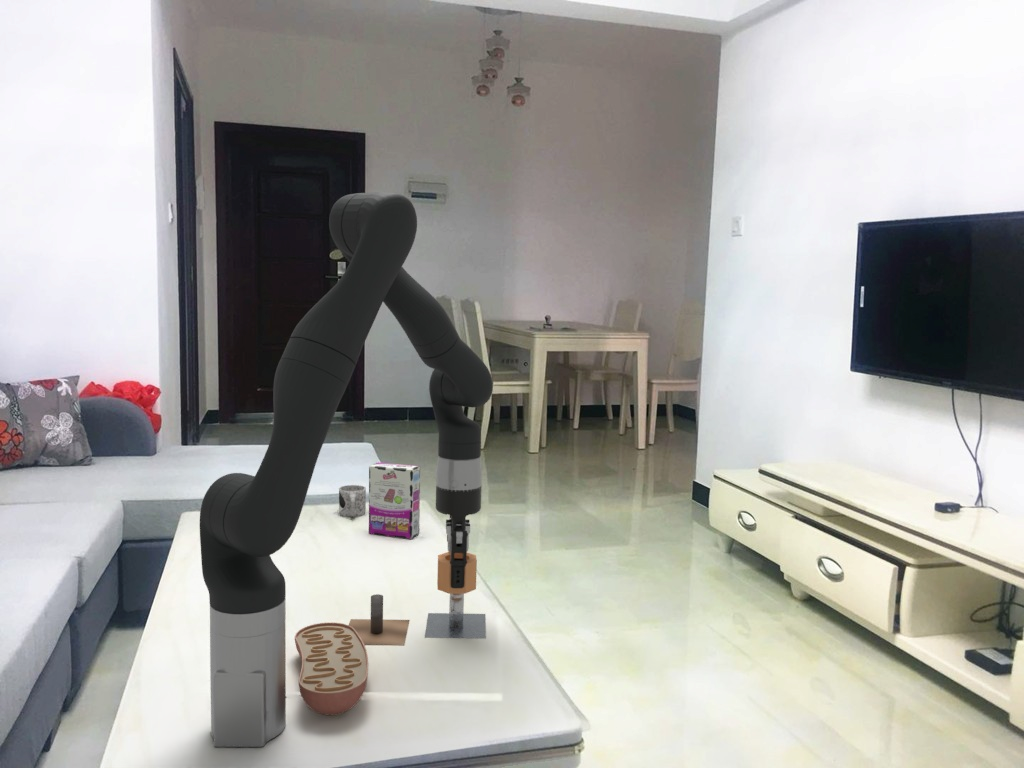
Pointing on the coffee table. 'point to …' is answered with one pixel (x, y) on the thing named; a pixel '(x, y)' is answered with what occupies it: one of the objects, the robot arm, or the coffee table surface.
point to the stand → (380, 626)
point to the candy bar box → (394, 500)
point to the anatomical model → (331, 667)
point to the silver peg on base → (455, 622)
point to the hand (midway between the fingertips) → (456, 579)
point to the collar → (445, 573)
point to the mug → (352, 501)
